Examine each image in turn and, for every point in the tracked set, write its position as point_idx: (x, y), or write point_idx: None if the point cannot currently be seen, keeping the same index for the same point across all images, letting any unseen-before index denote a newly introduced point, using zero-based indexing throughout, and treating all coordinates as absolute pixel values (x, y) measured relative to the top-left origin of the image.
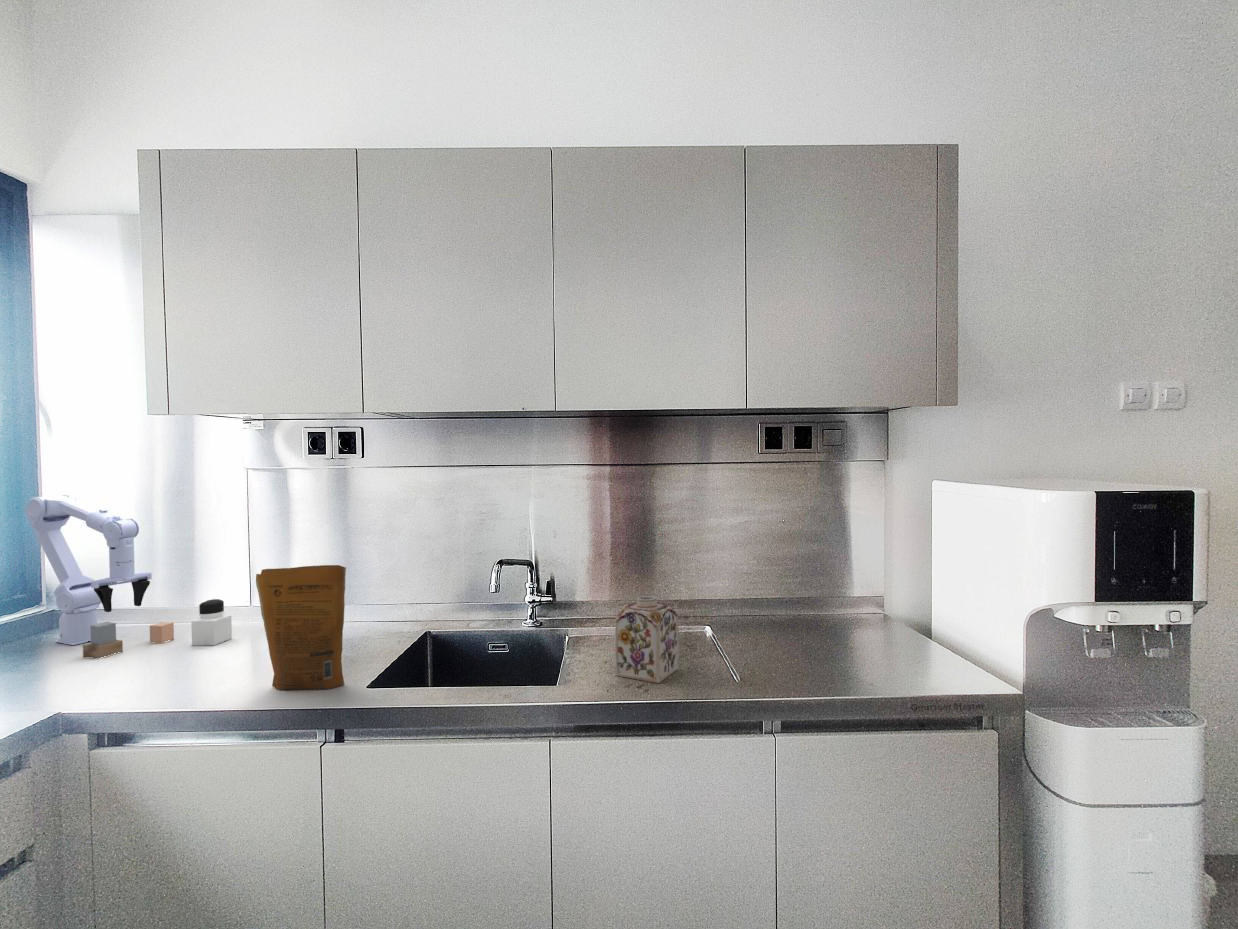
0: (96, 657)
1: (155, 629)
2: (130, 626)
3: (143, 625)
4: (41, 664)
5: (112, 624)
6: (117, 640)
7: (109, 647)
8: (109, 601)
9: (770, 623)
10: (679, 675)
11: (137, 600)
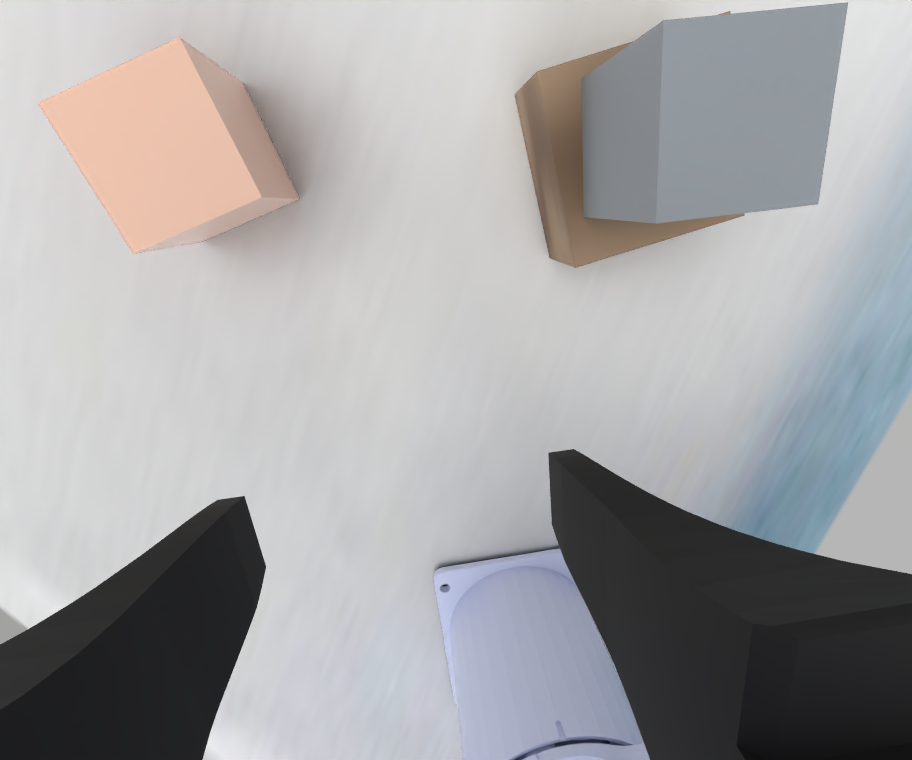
0: None
1: (237, 128)
2: (248, 724)
3: None
4: (859, 268)
5: (693, 20)
6: (557, 114)
7: None
8: (629, 505)
9: None
10: None
11: (221, 566)
